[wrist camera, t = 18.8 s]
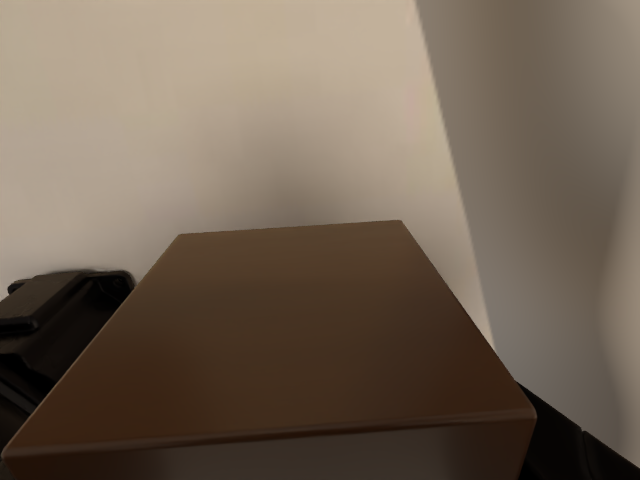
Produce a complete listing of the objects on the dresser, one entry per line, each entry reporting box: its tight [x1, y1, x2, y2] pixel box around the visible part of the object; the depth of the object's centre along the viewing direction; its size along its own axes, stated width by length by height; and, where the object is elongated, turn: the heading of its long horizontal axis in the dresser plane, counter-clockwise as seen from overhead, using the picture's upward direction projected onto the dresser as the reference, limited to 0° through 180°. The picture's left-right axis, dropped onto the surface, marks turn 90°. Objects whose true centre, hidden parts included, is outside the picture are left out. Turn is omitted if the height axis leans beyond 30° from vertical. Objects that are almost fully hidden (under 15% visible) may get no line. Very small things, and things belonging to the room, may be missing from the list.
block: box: [1, 220, 537, 480], centre depth 6 cm, size 5×5×5 cm
